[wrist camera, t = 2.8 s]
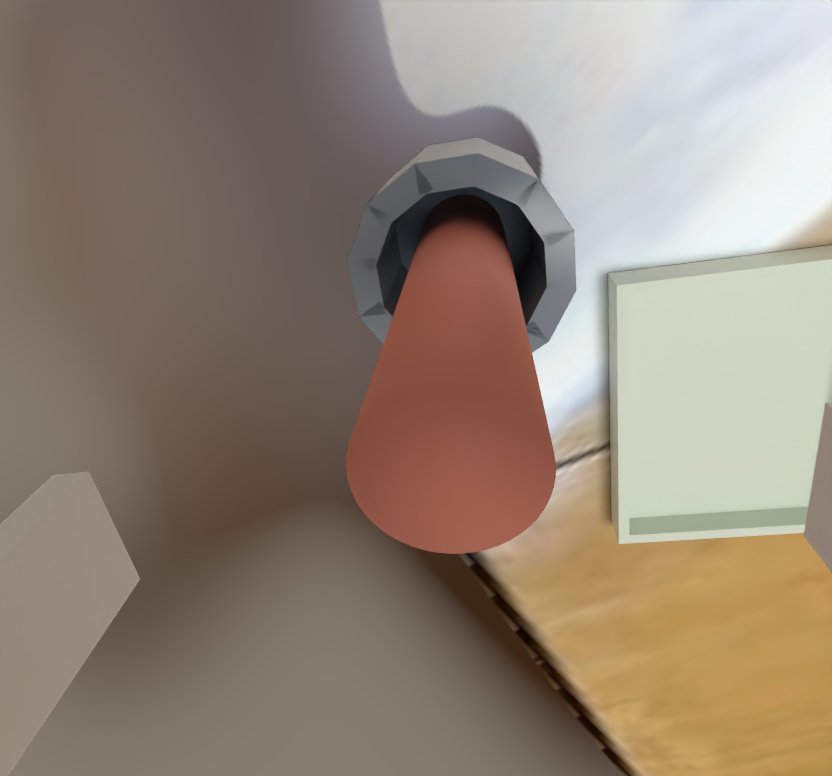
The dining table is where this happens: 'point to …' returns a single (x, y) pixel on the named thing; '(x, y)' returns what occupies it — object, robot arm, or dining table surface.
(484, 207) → the dowel
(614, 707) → the dining table surface
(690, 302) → the tray
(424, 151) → the crock
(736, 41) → the dining table surface
